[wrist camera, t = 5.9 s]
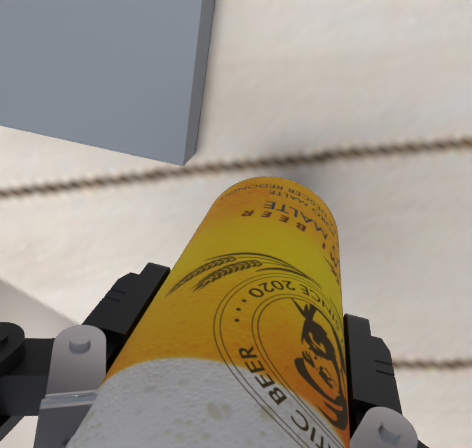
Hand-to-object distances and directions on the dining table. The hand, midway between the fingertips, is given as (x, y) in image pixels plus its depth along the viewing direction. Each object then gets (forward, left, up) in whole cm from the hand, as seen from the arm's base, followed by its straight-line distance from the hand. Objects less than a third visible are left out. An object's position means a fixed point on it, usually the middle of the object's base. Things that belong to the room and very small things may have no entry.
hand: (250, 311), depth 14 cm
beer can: (0, 0, -6) cm, 6 cm away
